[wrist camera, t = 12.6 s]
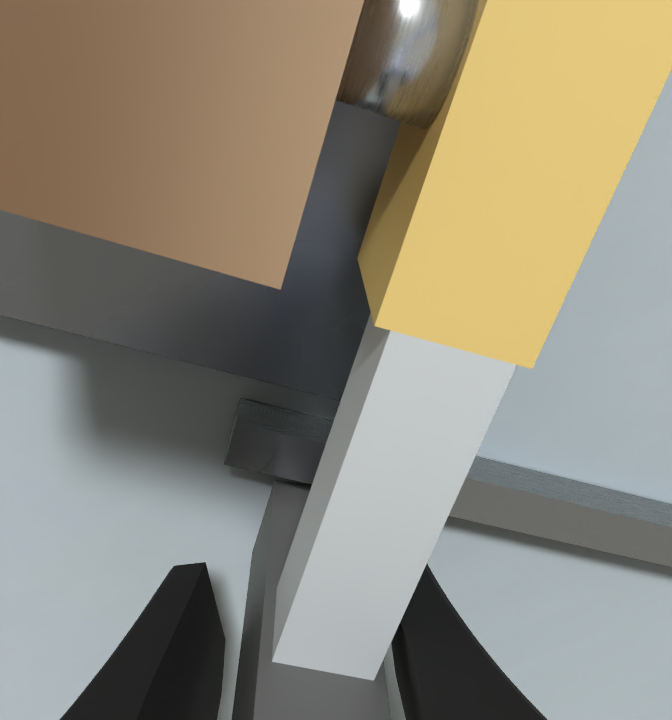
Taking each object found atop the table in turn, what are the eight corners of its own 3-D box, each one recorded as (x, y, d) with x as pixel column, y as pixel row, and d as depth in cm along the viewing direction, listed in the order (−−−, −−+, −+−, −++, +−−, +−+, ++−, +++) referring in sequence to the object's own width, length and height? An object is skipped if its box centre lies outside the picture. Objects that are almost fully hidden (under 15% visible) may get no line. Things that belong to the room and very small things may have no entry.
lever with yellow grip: (597, -109, 10) (994, -365, 4) (337, 568, 15) (352, 869, 9) (474, -158, 9) (718, -507, 4) (252, 551, 14) (215, 850, 9)
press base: (1172, -121, 10) (1257, -141, 9) (716, 553, 15) (741, 583, 15) (-190, -768, 7) (-263, -890, 6) (-172, 343, 12) (-210, 364, 12)
